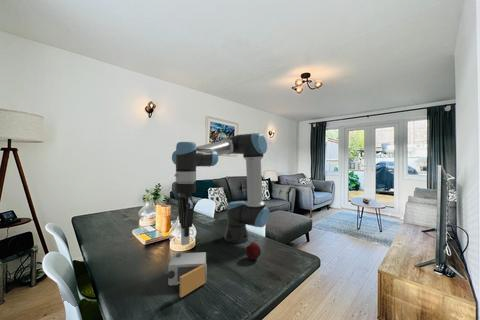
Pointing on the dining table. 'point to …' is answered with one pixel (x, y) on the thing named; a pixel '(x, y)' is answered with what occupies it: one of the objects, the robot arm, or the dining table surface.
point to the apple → (253, 251)
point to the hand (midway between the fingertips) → (185, 244)
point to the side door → (193, 280)
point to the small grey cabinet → (184, 265)
